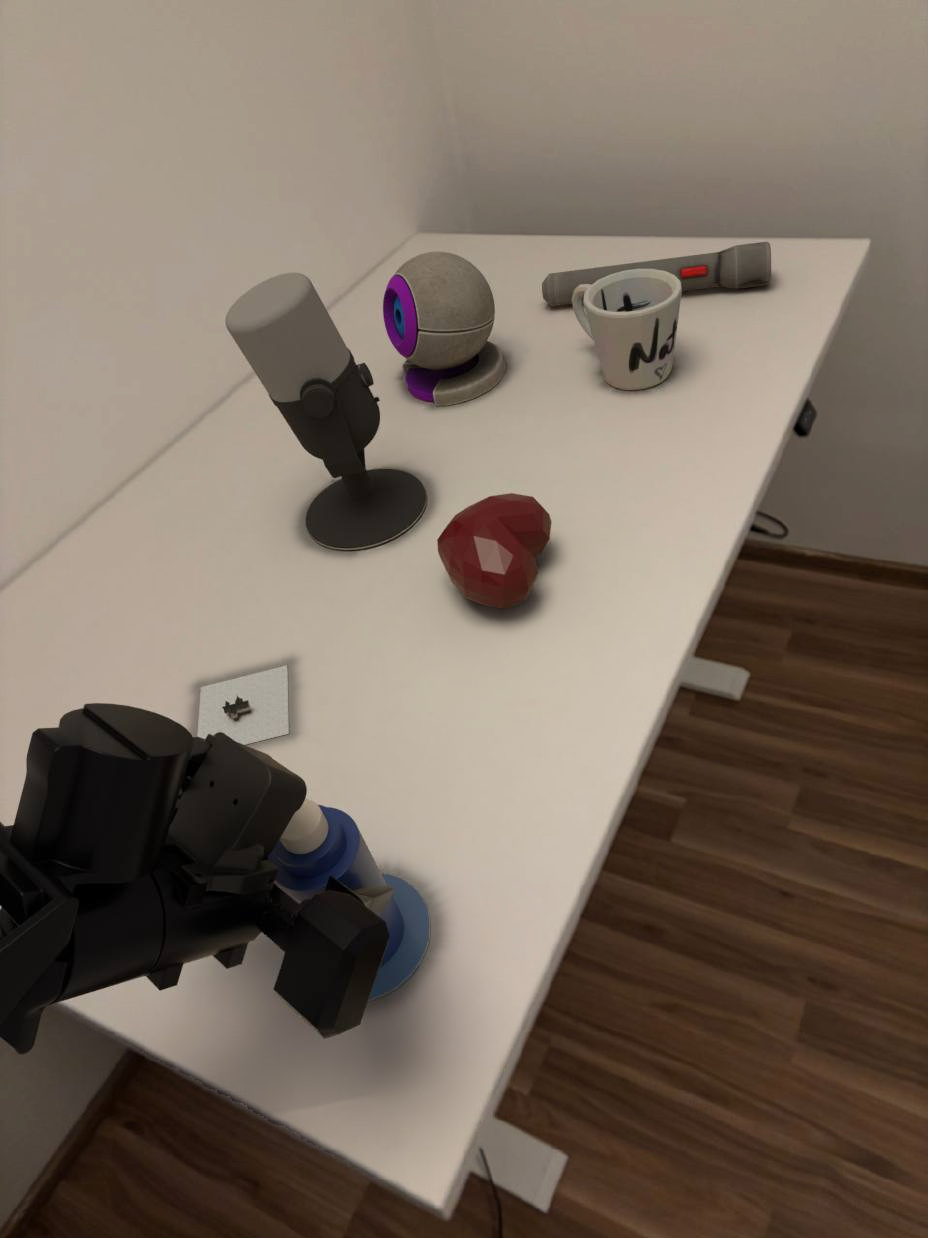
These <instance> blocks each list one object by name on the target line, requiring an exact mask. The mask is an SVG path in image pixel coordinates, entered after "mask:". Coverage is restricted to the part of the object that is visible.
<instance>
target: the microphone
mask: <svg viewBox="0 0 928 1238" xmlns="http://www.w3.org/2000/svg"><path fill="white" fill-rule="evenodd" d="M224 321H225V328H226V330H227V331H228V333H229V334H230V336H231V337H232V339H233V341H234V342H235V343H236V345H237V347H238V349H239V350H240V351H241V353H242V355H243V356H244V357H245V359H246V361H247V362H248V364H249V365H250V367H251V369H252V370H253V372H254V374H255V375H256V377H257V378H258V380H259V381H260V383H261V384H262V386H263V388H264V389H265V391H266V392H267V395H268V397H269V399H270V400H271V402H272V404H273V405H274V406H275V407H276V408H277V409H278V411H279V413H280V414H281V415H282V417H283V419H284V420H285V422H286V424H287V425H288V426H289V428H290V430H291V431H292V433H293V434H294V436H295V438H296V439H297V441H298V442H299V444H300V445H301V446H302V448H303V449H304V450H305V451H306V452H307V453H308V454H310V455H311V456H312V457H315V458H316V459H319V460H322V463H323V465H324V467H325V469H326V471H328V474H330V476H331V478H332V479H336V478H340V479H338V480H336V481H334V482H333V483H331V484H330V485H328V486H327V487H325V488H324V489H323V490H322V491H320V492H319V493H318V494H317V495H316V497H315V498H313V500H312V501H311V503H310V504H309V506H308V508H307V511H306V513H305V519H304V520H305V528H306V530H307V532H308V534H309V536H310V538H311V539H312V540H313V541H314V542H315V543H317V544H318V545H320V546H322V547H324V548H326V549H329V550H333V551H340V552H355V551H364V550H368V549H373V548H376V547H379V546H382V545H385V544H387V543H390V542H391V541H394V540H395V539H397V538H399V537H400V536H403V534H405V533H406V532H408V531H409V530H410V529H411V528H413V526H415V524H416V523H418V521H419V520H420V519H421V517H422V516H423V514H424V512H425V509H426V507H427V503H428V496H427V491H426V489H425V486H424V483H423V482H422V481H421V480H420V479H419V478H418V477H417V476H415V474H411V473H410V472H407V471H406V470H401V469H396V468H372V469H367V467H366V453H365V448H367V447H368V446H369V445H370V443H371V442H372V441H373V440H374V438H375V436H376V435H377V433H378V430H379V428H380V423H381V412H380V406H379V404H378V402H380V401H381V400H380V397H379V396H376V397H375V396H374V394H373V392H372V391H371V389H370V387H371V386H373V385H374V384H375V383H374V378H373V375H372V373H371V370H370V368H369V366H368V365H367V364H366V363H365V362H361V363H356V361H355V357H354V355H353V353H352V352H351V350H350V348H349V347H348V346H347V344H346V343H345V341H344V339H343V337H342V335H341V334H340V332H339V330H338V328H337V326H336V325H335V323H334V321H333V319H332V317H331V316H330V314H329V312H328V310H327V308H326V306H325V304H324V303H323V301H322V299H321V297H320V295H319V294H318V291H317V290H316V288H315V286H314V284H313V283H312V281H311V279H310V278H309V277H308V276H307V275H305V274H303V273H300V272H285V273H281V274H277V275H274V276H272V277H270V278H268V279H265V280H263V281H261V282H259V283H258V284H256V285H255V286H253V287H251V288H250V289H249V290H247V291H246V292H244V293H243V294H242V295H240V296H239V297H238V298H237V299H236V300H235V301H234V302H233V303H232V304H231V306H230V308H229V309H228V310H227V312H226V316H225V320H224Z"/></svg>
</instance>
